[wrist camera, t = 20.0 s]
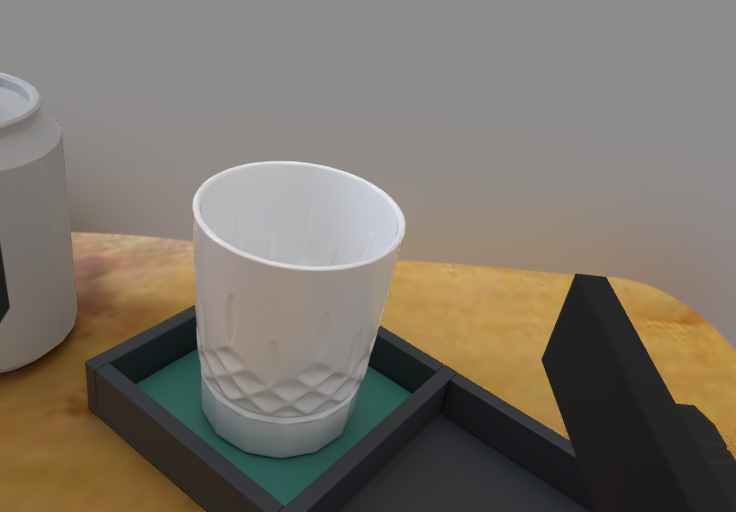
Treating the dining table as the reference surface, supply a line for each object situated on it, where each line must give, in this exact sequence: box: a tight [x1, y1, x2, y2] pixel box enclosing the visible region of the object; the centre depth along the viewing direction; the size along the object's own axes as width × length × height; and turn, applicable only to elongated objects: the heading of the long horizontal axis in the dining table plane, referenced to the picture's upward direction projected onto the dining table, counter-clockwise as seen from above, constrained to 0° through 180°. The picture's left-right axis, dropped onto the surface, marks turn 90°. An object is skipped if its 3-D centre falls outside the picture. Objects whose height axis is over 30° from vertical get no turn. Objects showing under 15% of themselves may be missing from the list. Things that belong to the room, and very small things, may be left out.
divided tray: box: [85, 305, 596, 512], centre depth 29 cm, size 22×11×3 cm, turn 52°
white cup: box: [193, 161, 406, 458], centre depth 29 cm, size 8×8×10 cm
